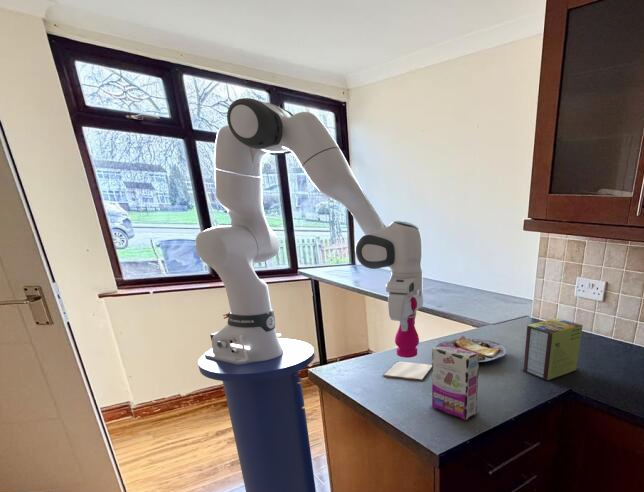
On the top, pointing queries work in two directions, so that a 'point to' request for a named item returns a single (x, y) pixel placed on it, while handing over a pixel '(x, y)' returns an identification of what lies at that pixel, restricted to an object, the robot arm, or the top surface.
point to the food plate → (478, 347)
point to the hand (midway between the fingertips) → (408, 327)
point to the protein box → (552, 348)
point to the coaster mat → (408, 370)
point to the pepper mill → (408, 336)
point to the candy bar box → (455, 381)
